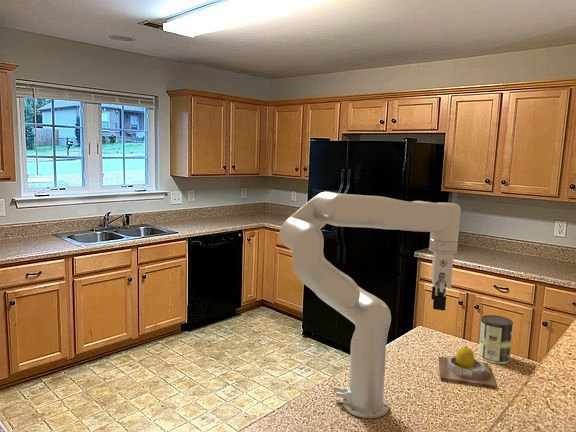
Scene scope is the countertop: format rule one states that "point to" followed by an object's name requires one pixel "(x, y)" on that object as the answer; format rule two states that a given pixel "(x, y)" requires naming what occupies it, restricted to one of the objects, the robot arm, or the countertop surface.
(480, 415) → the countertop surface
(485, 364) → the walnut board
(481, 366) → the steel ring
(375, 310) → the robot arm
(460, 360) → the lemon
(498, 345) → the coffee can
